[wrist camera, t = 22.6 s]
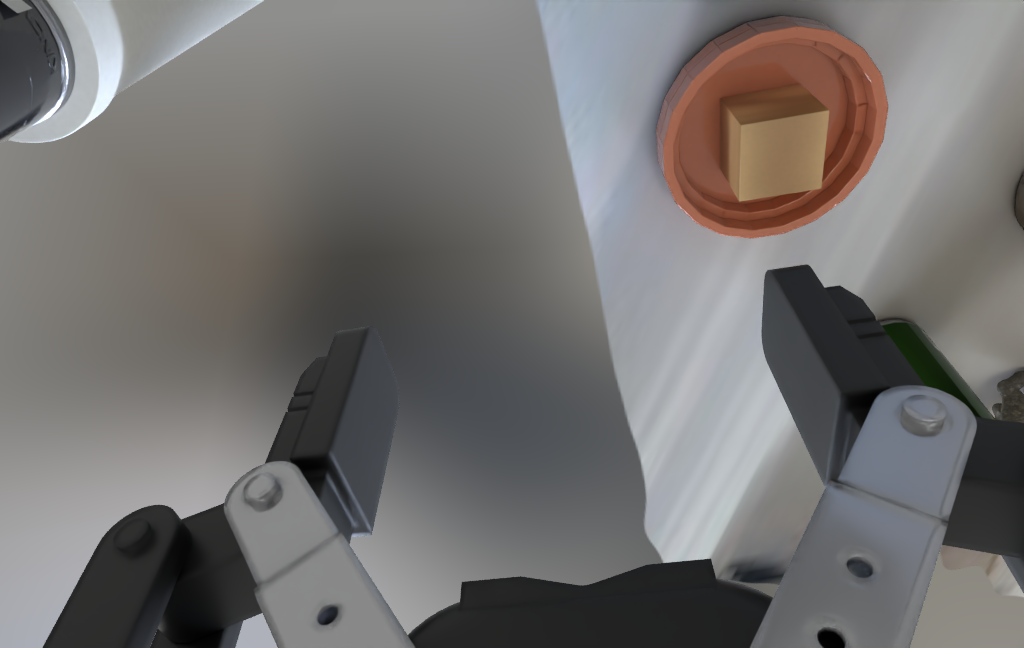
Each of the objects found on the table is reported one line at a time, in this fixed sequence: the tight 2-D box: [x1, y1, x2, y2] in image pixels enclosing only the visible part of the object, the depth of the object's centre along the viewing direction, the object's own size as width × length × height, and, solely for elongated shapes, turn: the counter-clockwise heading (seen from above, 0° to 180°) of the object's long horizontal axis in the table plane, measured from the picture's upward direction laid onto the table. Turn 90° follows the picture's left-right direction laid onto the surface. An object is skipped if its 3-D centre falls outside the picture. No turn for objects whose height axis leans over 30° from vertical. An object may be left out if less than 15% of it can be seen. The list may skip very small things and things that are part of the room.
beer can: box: [879, 320, 996, 420], centre depth 44 cm, size 5×5×12 cm
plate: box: [656, 16, 888, 238], centre depth 38 cm, size 12×12×3 cm
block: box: [720, 84, 829, 201], centre depth 37 cm, size 4×4×4 cm
